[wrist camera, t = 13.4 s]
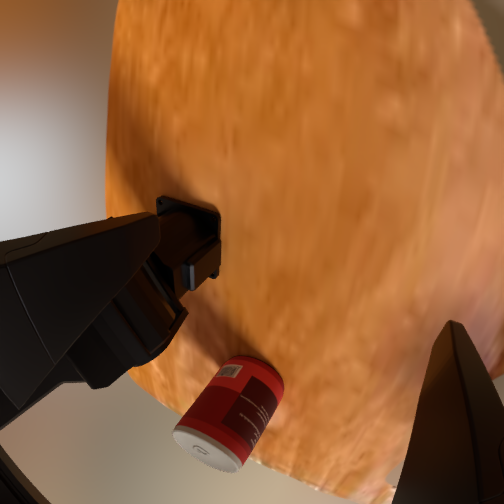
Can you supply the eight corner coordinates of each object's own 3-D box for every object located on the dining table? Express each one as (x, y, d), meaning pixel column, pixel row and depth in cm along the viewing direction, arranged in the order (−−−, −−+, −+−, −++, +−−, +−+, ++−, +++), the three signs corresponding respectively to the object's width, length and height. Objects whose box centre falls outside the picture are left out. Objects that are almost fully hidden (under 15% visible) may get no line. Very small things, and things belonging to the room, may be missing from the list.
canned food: (219, 374, 38) (168, 441, 30) (234, 341, 33) (174, 420, 25) (271, 406, 37) (228, 478, 28) (297, 379, 32) (248, 466, 23)
